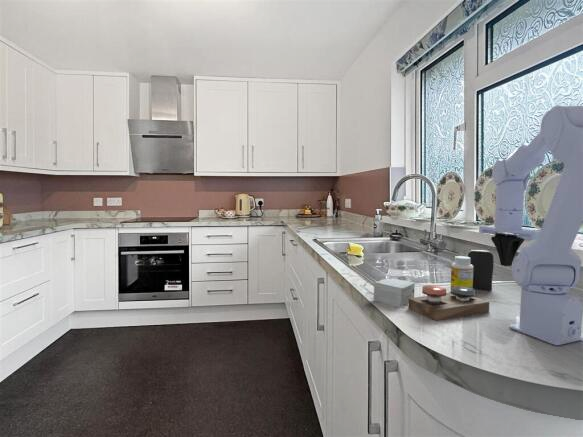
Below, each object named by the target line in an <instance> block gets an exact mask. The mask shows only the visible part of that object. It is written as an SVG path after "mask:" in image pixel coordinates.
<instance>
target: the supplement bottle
mask: <svg viewBox="0 0 583 437" xmlns="http://www.w3.org/2000/svg"><path fill="white" fill-rule="evenodd" d="M470 262H471V261H470V257H467V256H463V255H457V256H456V255H455V256H454V262H452V263H451V267H450V268H451V269H450V271H451V272H450V288H451V287H455V286H461V287H468V288H472V289H473V265H471V264H470Z"/></svg>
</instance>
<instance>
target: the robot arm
mask: <svg viewBox="0 0 583 437" xmlns="http://www.w3.org/2000/svg"><path fill="white" fill-rule="evenodd" d="M540 123H541V124H540V129H539V132H537V134H536V135H535V136H534V137H533V139H532V140H531V141H530V142H526V143H525V142H522V143H521V144H520V145H519V146H518V147H516V149H514V151H513V152H512V153H511V154H510V155H509V156H508V157H507V158H506V159H496V161H495V163H494V164H493V167H492V171H491V172H492V173H491V174H492V175H491V176H492V177H491V178H492V180H493V183H494V184H496V186H495V188H496V189H495V190H496V191H495V206H494V207H495V209H494V211H495V212H494V225H479V228H478V232H479V234H489V235H494V236H491V238H490V240H491V241H492V243H493V245H494V247H495V249H496V251H497V252H496V253H497V254H498V258H499V263H500V265H501V266H503V267H510V266H511V275H512V279H513V281H514V282H515V283H516V285H517V286H518V287H520V288H521V289H520V291H521V292H520V308H519V309H520V310H519V323H514V324H509V325H508V327H509V329H512V330H515V331H517V332H520V333H522V334H525V335H528V336H530V337H533V338H535V339H537V340H541V341H543V342H545V343H549V344H550V345H553V346H560V345H561V346H562V345H565V344H570V343H574V342H579V341H582V340H583V336H582V323H583V305H582V302H581V300H580V299H579V298H577V297H575V296H572V295H570V294H571V289H573V288H574V287H576V285H577V284H578V282H579V281H580V273H581V272H580V270H581V266H582V264H583V261H582V259H581V257H580V256H579V254H578V252H576V251H575V250H574V249H572V247H573V244H574V243H575V240H576V237H577V235H578V233H579V230H580V228H581V226H582V224H583V105H567V106H566V105H559V104H558V105H552V106H551V107H550V108H549V109H548V110H547V111H546V112H545V113H544V115H543V116H542V118H541V122H540ZM549 152H550V154H551V156H552V158H553V159H555V160H557V161H559V162H562V164H563V168H562V171H561V174H560V177H559V180H558V183H557V185H556V188H555V191H554V193H553V196H552V199H551V202H550V205H549V207H548V210H547V213H546V215H545V219H544V221H543V224H542V226H541V228H540V230H535V229H529V228H523V216H524V213H523V212H524V198H525V197H524V195H525V191H527V189H528V182H529V180H530V178H531V173H532V172H534V171H535V170H536V169H537V168H538V167H539V166H540V165H542V164H543V163H544V162H545V159H546V154H547V153H549ZM525 239H529V240H534V241H532V242H530V243H528V244H525V245H524V246H522V247H521V245H522V244H523V243H524V241H525ZM519 248H520V250H519ZM518 250H519V253H518V255H517V256H516V254H517V251H518ZM569 293H570V294H569Z"/></svg>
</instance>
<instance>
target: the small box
mask: <svg viewBox="0 0 583 437" xmlns="http://www.w3.org/2000/svg"><path fill="white" fill-rule="evenodd" d="M415 284H416V283H415V282H413V281H408V280H402V279H398V278H393V277H387V278H384V279H380V280H379V281H375V282H373V302H376V301H377V302H376V303H380V302H381V304H384V305H385V304H386V305H388V306H393V307H396V308H402V307H404V306H406V305H409V298H415Z"/></svg>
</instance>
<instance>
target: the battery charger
mask: <svg viewBox="0 0 583 437" xmlns="http://www.w3.org/2000/svg"><path fill="white" fill-rule="evenodd" d="M466 257H470V261H471V262H470V264H471V265H473V289H474V290H482V291H483V290H485V291H491V290H493V276H494V269H495V268H494V266H495V256H494V253H493V252H491V251H489V250H485V249H470V250H468V251H467V254H466Z"/></svg>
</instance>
